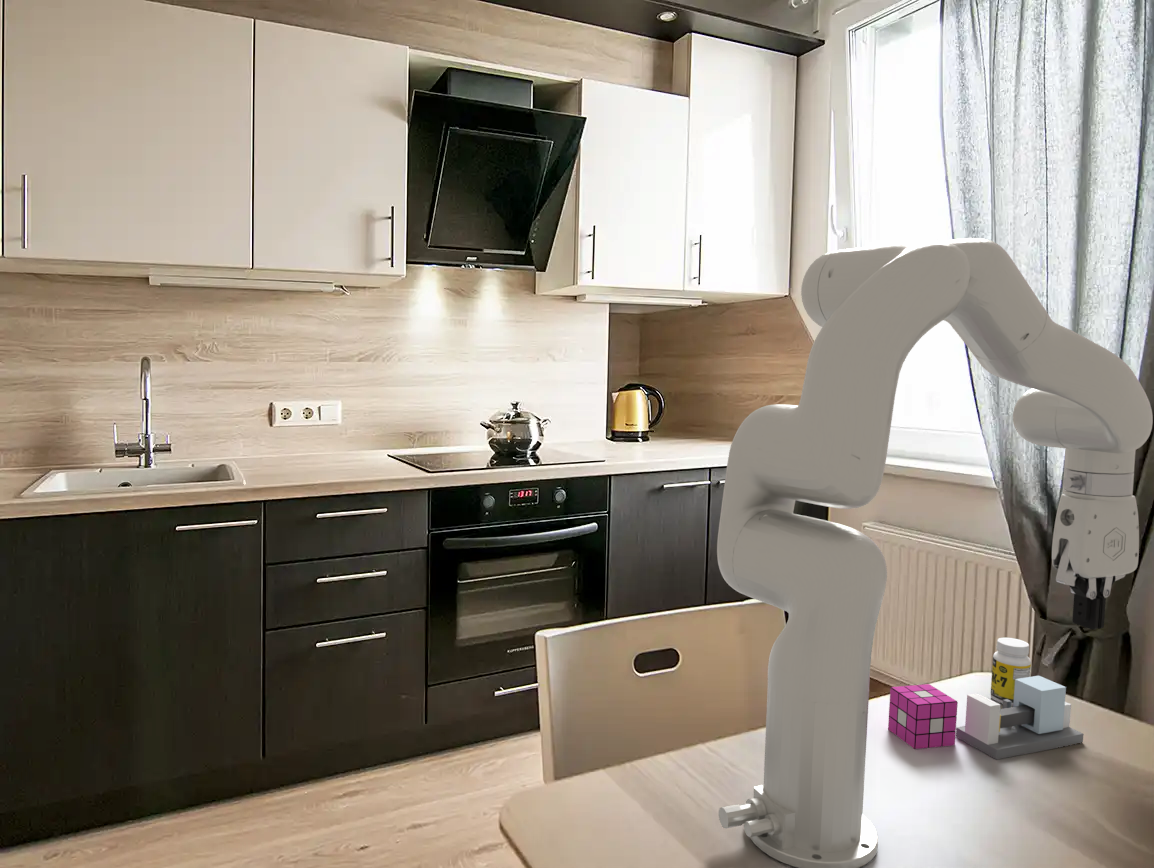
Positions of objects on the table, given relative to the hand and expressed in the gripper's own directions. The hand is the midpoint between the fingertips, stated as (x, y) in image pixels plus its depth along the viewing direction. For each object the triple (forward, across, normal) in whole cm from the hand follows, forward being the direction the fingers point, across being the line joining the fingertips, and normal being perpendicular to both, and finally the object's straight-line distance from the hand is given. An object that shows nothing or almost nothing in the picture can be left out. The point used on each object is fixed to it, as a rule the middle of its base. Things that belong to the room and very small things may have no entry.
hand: (1087, 625), depth 110 cm
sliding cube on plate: (+13, -11, 0) cm, 17 cm away
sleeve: (+12, -8, 0) cm, 14 cm away
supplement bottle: (+14, -2, +10) cm, 17 cm away
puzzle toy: (+14, -22, +4) cm, 26 cm away
